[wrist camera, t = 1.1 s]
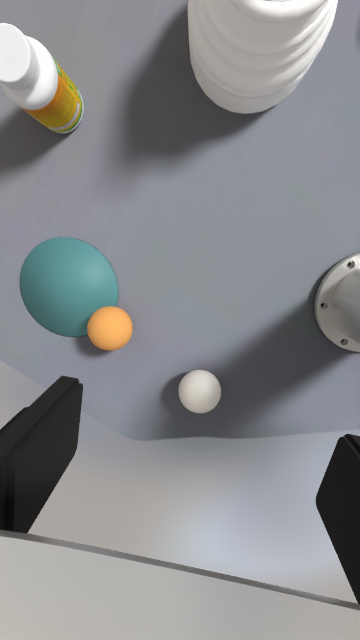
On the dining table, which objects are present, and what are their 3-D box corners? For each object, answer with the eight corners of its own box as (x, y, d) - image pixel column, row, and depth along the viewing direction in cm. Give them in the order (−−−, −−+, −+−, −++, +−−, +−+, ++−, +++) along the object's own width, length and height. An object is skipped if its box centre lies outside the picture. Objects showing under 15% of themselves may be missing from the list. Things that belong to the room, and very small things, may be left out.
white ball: (218, 362, 39) (222, 381, 34) (220, 398, 41) (223, 421, 35) (178, 363, 40) (175, 382, 34) (181, 399, 41) (178, 422, 36)
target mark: (111, 234, 36) (111, 233, 35) (123, 334, 39) (123, 334, 39) (11, 241, 37) (10, 241, 36) (31, 338, 40) (30, 338, 40)
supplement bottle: (94, 102, 32) (51, 44, 23) (68, 145, 33) (18, 107, 24) (53, 67, 31) (-8, -7, 22) (29, 112, 33) (-39, 61, 23)
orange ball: (134, 301, 38) (124, 310, 32) (138, 340, 39) (129, 356, 34) (93, 303, 38) (76, 313, 33) (99, 342, 39) (83, 358, 34)
